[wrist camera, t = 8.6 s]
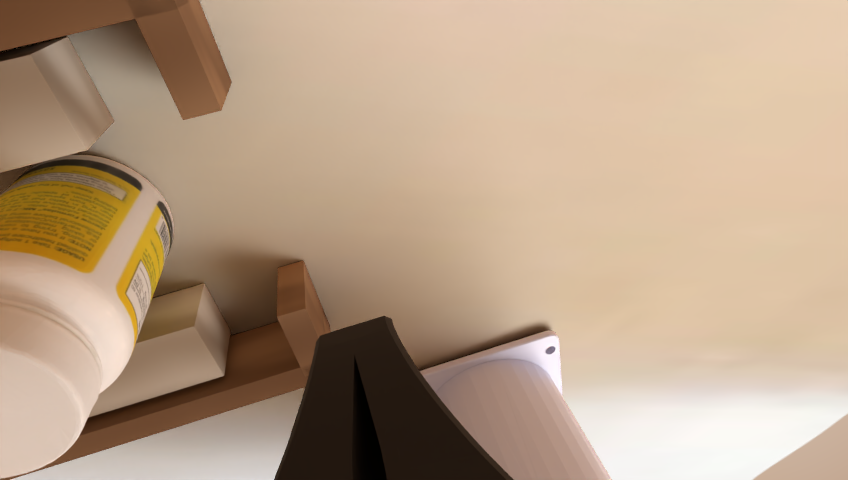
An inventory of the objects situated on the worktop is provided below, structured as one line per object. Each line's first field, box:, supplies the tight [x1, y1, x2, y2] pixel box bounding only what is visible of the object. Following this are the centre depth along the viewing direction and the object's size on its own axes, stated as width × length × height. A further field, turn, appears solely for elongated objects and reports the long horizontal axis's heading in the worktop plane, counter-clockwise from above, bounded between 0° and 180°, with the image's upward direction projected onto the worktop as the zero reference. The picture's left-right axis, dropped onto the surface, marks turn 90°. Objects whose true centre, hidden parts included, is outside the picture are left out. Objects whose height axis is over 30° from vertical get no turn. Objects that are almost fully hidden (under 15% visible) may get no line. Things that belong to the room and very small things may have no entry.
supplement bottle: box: [0, 155, 174, 478], centre depth 13 cm, size 5×5×8 cm
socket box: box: [0, 0, 330, 480], centre depth 16 cm, size 14×14×3 cm
